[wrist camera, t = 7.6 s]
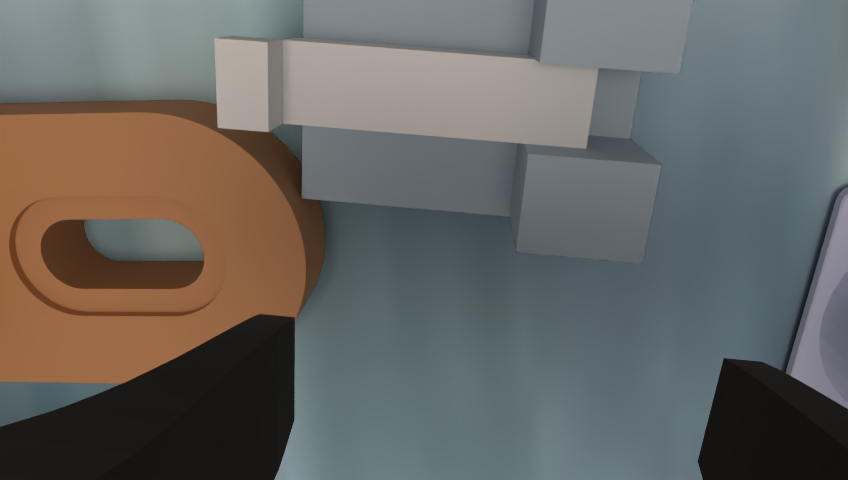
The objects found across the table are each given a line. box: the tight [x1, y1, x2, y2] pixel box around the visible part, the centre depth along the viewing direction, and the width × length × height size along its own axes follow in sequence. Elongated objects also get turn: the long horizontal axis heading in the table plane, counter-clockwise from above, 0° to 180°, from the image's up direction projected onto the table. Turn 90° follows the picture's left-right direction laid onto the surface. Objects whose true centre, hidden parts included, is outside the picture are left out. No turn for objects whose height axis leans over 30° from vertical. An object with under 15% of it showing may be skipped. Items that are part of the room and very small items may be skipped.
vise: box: [214, 0, 694, 264], centre depth 16 cm, size 10×11×5 cm
